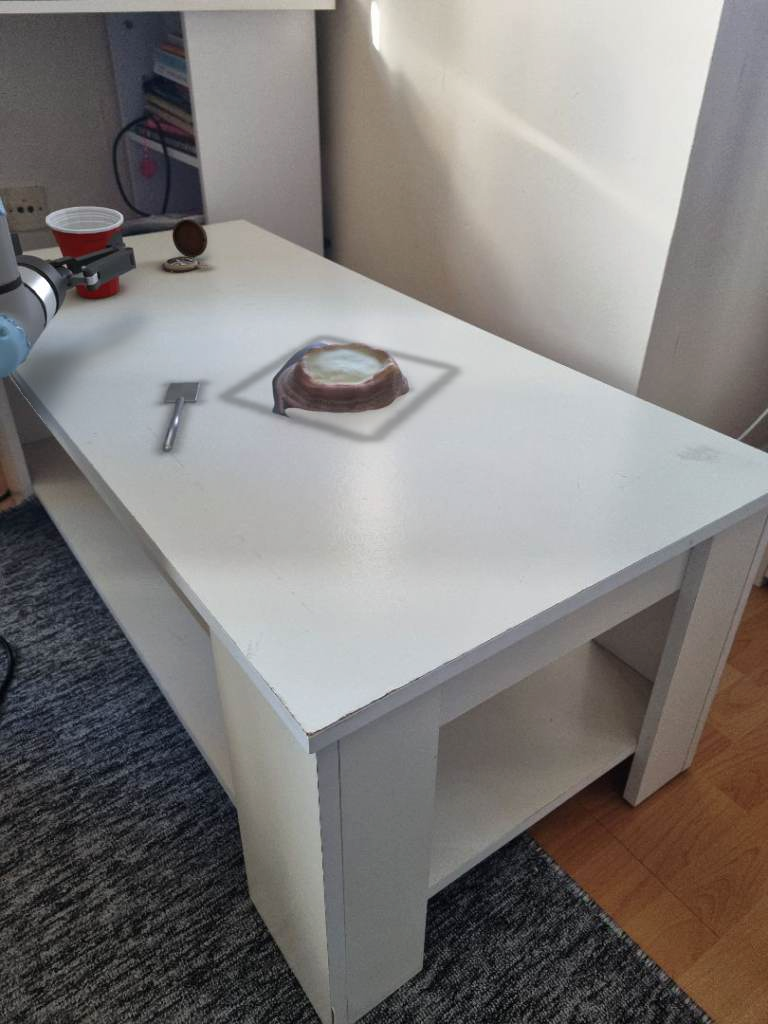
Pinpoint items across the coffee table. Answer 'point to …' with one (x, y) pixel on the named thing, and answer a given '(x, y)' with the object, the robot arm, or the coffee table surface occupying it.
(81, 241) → the plastic cup
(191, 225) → the compass
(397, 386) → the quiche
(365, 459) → the coffee table surface
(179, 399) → the metal spatula
